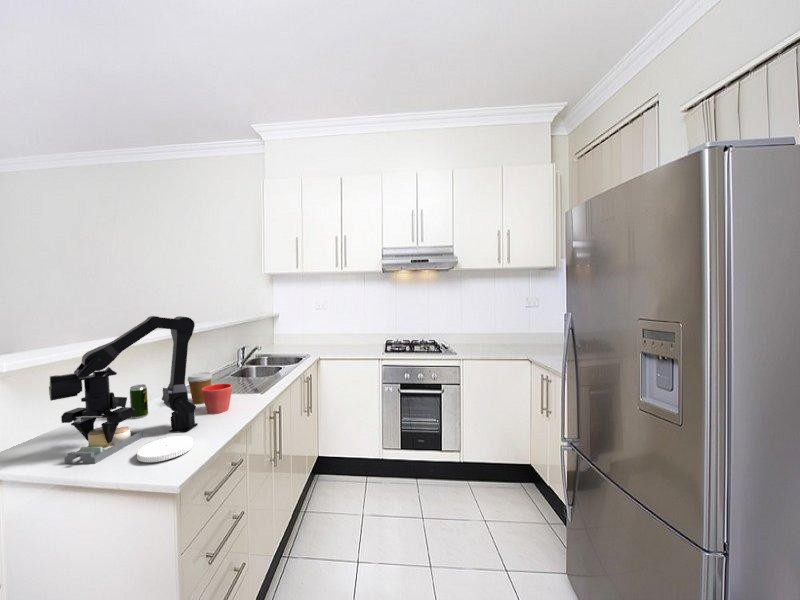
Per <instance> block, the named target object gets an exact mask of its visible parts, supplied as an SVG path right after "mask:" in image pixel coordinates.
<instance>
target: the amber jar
mask: <svg viewBox="0 0 800 600" xmlns="http://www.w3.org/2000/svg"><path fill="white" fill-rule="evenodd" d="M87 442H88V443H87V444H88V445H87V446H89V447H103V449H105V448H107V447H108V448H109V447H111V445H112V442H110V443H107V441H106V438H105V435H104V432H103V428H102V426H99V427H96V428H94V429H93V430H91V431H89V433H88V441H87Z"/></svg>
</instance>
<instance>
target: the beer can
mask: <svg viewBox="0 0 800 600" xmlns="http://www.w3.org/2000/svg"><path fill="white" fill-rule="evenodd" d="M129 400H130V402H129V403H130V407H132V408H133V409H135V416H133V417H131V419H132V420H133V419H134V420H135V419H136V420H138V419H142V418H145V417H147V416H148V415H149V403H148V400H149V399H148V387H147V385H146V384H136V385H135V384H134V385H132V386H130V387H129Z"/></svg>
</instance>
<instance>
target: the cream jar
mask: <svg viewBox="0 0 800 600" xmlns="http://www.w3.org/2000/svg"><path fill="white" fill-rule="evenodd" d="M130 431H131V428H130V427H129V426H125V425H124V426H119V427H117V428H116V431H115V434H114V436H113V439H112V444H111V445H112V446H114V445H116V444H118V443H120V442H121V441H123V440H125V439H127V438H129V437H131V433H130Z"/></svg>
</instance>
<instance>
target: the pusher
mask: <svg viewBox="0 0 800 600" xmlns="http://www.w3.org/2000/svg"><path fill="white" fill-rule="evenodd" d="M79 450H80V452H94V456H95V455H97V454H99V453H101V452H102V451H104V448H103V447H87V446H81V447H79ZM78 460H80V461H81V460H83V455H81V456H79V457H77V458H75V459H73V460H72V462H73V463H75V462H76V461H78Z"/></svg>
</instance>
